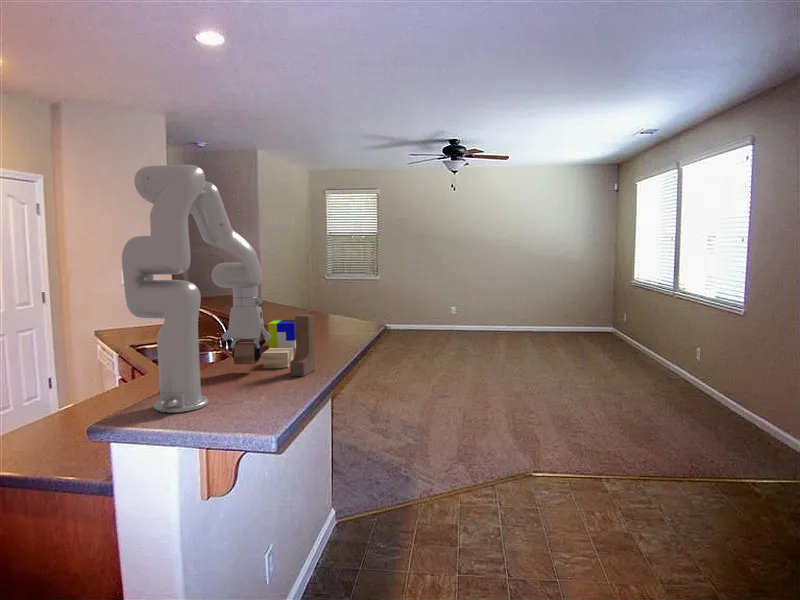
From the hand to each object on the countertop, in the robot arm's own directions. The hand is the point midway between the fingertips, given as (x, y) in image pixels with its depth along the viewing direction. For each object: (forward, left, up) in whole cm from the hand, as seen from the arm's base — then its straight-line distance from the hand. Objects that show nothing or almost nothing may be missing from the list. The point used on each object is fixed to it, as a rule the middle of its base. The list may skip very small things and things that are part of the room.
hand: (246, 359), depth 173 cm
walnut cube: (0, 0, -1) cm, 1 cm away
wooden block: (-1, -18, -4) cm, 18 cm away
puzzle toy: (+44, -1, -5) cm, 44 cm away
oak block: (+11, -7, -4) cm, 14 cm away
